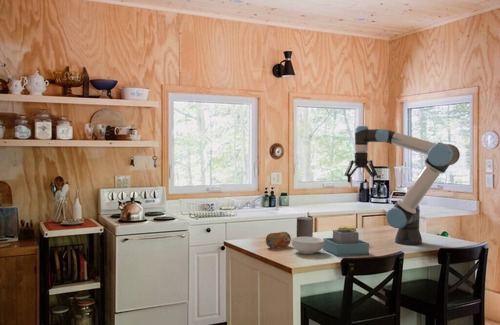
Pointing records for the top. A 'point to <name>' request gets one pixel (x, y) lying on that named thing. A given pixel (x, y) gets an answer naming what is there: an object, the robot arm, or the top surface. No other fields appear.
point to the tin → (278, 240)
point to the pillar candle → (304, 227)
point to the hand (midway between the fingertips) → (360, 187)
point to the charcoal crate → (345, 236)
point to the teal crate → (346, 248)
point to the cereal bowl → (307, 244)
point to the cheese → (347, 228)
